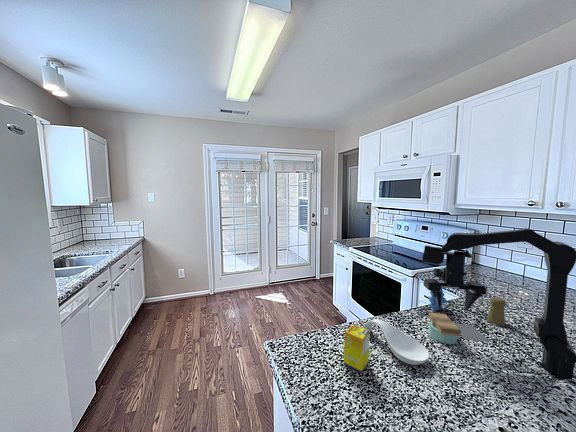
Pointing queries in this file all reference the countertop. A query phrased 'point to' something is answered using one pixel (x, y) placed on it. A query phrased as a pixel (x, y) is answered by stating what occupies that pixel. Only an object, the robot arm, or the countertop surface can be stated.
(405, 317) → the countertop surface
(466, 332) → the mat
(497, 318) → the olive brown pear
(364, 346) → the supplement box
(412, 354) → the spoon rest
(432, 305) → the grapes
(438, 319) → the tan wooden plank
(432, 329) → the bowl
